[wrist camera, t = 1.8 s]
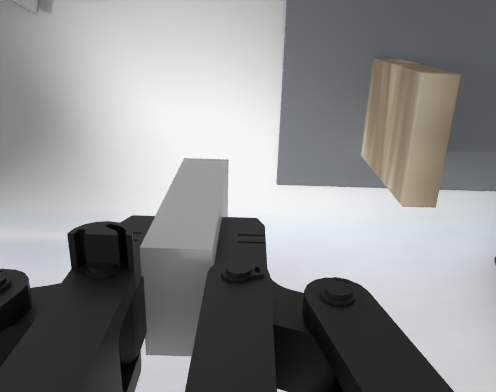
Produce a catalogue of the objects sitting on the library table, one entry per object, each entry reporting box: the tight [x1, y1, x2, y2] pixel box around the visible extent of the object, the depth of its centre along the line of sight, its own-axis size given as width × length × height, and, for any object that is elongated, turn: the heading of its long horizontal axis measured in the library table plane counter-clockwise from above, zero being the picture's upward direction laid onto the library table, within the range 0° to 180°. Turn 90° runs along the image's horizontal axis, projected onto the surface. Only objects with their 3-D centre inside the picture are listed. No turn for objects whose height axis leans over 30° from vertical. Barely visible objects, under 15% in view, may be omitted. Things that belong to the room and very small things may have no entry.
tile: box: [361, 58, 461, 207], centre depth 28 cm, size 2×7×10 cm, turn 179°
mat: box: [277, 0, 496, 191], centre depth 32 cm, size 20×22×1 cm
